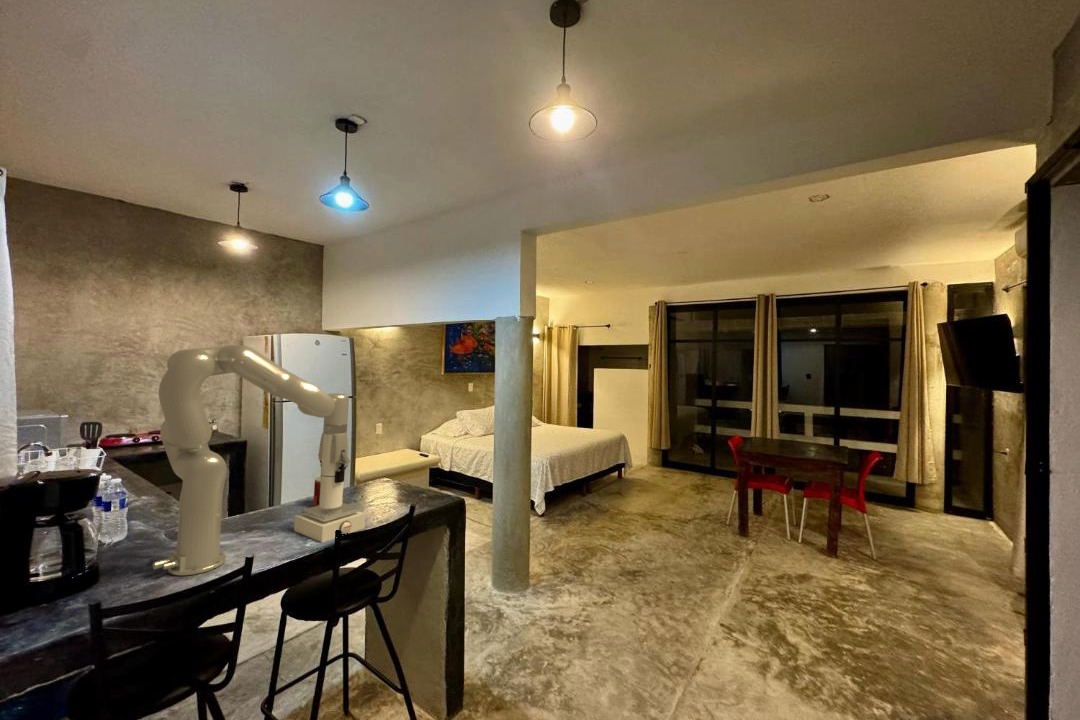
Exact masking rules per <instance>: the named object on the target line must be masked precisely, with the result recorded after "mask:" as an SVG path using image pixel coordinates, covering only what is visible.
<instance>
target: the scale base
mask: <svg viewBox="0 0 1080 720" xmlns="http://www.w3.org/2000/svg"><path fill="white" fill-rule="evenodd" d="M366 515H367V514H366V512H365V513H364V512H362V511H359V512H356V513H353V514H349V515H346V516H343V517H340V518H336V519H333V520H330V521H326V522H323V521H321V520H318V519H315V518H313V517H310V516H307V515H305V514H302V513H301V514H298V515H295V516H294V523H293V525H294V526H293V531H294V532H296V533H299V534H301V535H303V536H305V537H308V538H310V539H313V540H315V541H317V542H320V543H324V542H329V541H330V540H333V539H335V531H336V530H340V531H341V532H342V533H343V534H345V535H347V533H348V534H351V533H354V532H357V531H360V530H362V529H365V528H366Z"/></svg>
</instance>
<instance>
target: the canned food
mask: <svg viewBox="0 0 1080 720" xmlns="http://www.w3.org/2000/svg"><path fill="white" fill-rule="evenodd" d="M313 485H314V488H313V507H315V506H319V503H320V487H321V476H319V477H316V478H315V479H314V484H313Z"/></svg>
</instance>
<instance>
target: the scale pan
mask: <svg viewBox="0 0 1080 720" xmlns="http://www.w3.org/2000/svg"><path fill="white" fill-rule="evenodd" d="M356 512H360V507H358V506H354V505H351V504H348V503H345V502H342V506H340V507H337V508H331V509H324V508H320V507H319V506H315V507H314V506H312V507H308V508H304V509H301V514H305V515H307V516H310V517H313V518H315V519H318V520H321V521H323V522H326V521H330V520H333V519H336V518H340V517H343V516H346V515H349V514H353V513H356Z"/></svg>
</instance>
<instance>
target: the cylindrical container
mask: <svg viewBox="0 0 1080 720" xmlns="http://www.w3.org/2000/svg"><path fill="white" fill-rule="evenodd" d="M332 436H333V435H326V434H324V438H323V454H322V470H321V469H320V477H321V487H320V503H319V507H320V508H324V509H331V508H337V507H340V506H342V503H343V497H344V495H343V493H344V482H340V483H335V471H337V469H336V464H331V463H330V451H331V441H332ZM340 461H342V457H340V460H339V462H340ZM341 464H342V463H341ZM341 464H339V466H341Z"/></svg>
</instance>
